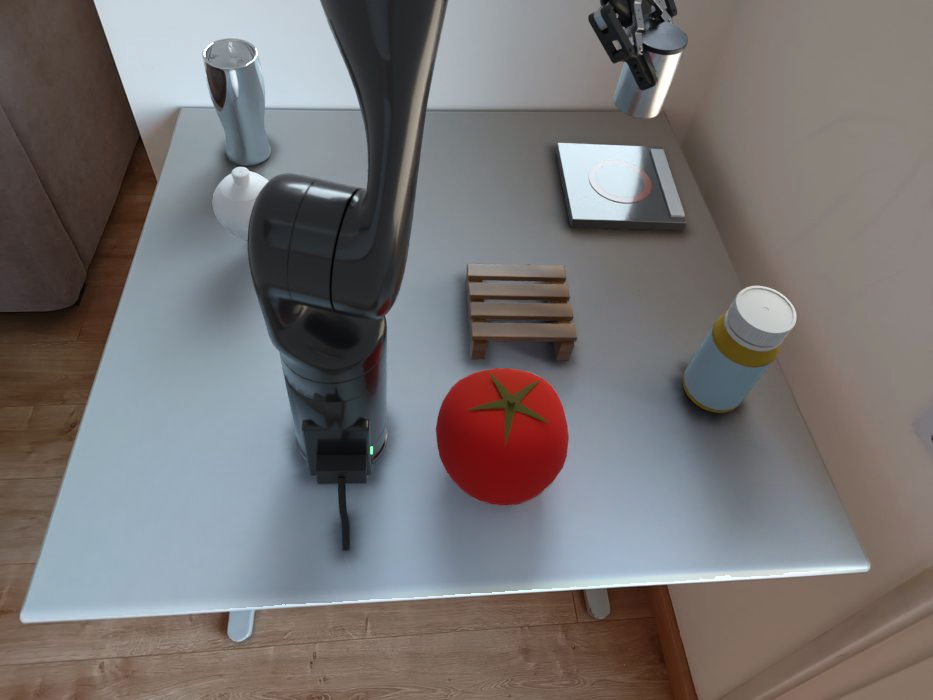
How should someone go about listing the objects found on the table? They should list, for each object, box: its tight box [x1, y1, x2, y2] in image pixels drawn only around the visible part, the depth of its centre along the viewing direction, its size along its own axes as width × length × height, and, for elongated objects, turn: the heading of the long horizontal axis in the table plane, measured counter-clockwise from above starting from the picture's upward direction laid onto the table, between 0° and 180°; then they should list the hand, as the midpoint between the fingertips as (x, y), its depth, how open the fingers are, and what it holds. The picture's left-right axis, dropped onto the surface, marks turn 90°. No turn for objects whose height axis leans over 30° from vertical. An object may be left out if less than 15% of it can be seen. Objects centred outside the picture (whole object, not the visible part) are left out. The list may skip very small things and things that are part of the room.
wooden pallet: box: [465, 263, 578, 361], centre depth 85 cm, size 12×12×4 cm
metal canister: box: [612, 18, 689, 120], centre depth 83 cm, size 6×6×9 cm
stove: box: [555, 142, 688, 231], centre depth 101 cm, size 16×16×2 cm
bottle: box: [682, 285, 798, 414], centre depth 77 cm, size 7×7×15 cm
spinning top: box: [211, 166, 270, 242], centre depth 85 cm, size 8×8×12 cm
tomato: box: [435, 367, 570, 507], centre depth 70 cm, size 13×14×12 cm
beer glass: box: [201, 38, 272, 167], centre depth 93 cm, size 7×7×15 cm
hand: (662, 73), depth 83 cm, fingers closed on metal canister, 6 cm apart
